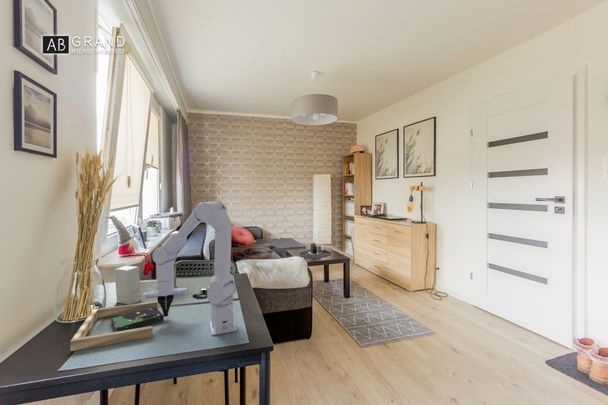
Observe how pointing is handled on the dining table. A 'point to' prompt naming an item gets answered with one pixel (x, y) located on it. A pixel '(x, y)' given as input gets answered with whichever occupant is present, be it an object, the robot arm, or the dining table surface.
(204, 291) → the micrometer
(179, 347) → the dining table surface
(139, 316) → the disk drive
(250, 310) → the dining table surface
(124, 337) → the bay
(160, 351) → the dining table surface
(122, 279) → the skincare box
